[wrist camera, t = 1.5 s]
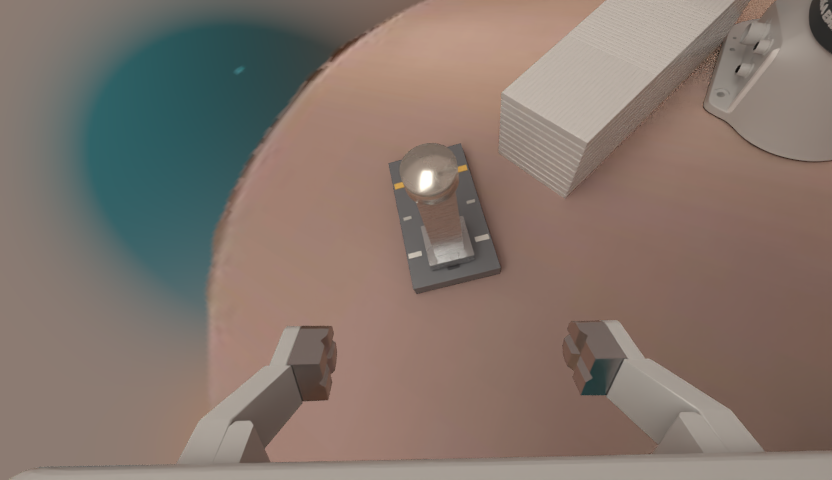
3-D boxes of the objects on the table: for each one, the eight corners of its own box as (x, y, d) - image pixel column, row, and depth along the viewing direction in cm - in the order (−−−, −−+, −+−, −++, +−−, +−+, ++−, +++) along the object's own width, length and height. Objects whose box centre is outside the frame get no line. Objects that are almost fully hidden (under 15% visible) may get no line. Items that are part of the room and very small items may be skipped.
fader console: (392, 171, 49) (388, 162, 47) (461, 152, 48) (460, 142, 46) (416, 293, 41) (413, 288, 39) (500, 273, 40) (500, 267, 38)
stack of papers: (564, 199, 43) (587, 142, 33) (498, 154, 47) (501, 92, 37) (719, 46, 47) (779, -43, 38) (646, 18, 52) (683, -69, 42)
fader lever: (423, 232, 41) (390, 150, 27) (463, 221, 41) (452, 132, 27) (431, 270, 39) (401, 203, 25) (475, 260, 39) (468, 185, 25)
